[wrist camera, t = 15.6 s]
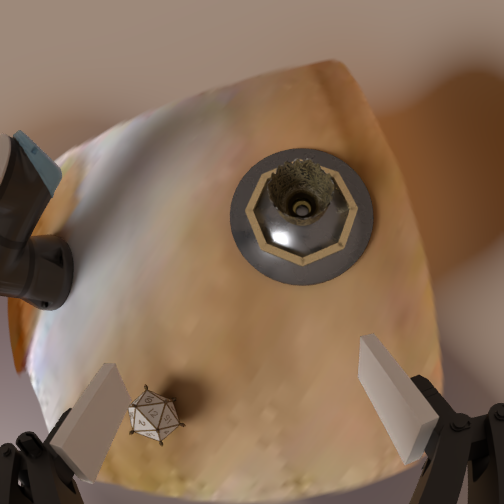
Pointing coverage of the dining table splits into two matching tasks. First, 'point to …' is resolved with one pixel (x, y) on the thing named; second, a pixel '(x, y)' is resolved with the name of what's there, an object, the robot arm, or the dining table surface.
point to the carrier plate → (301, 237)
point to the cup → (300, 191)
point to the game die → (153, 416)
